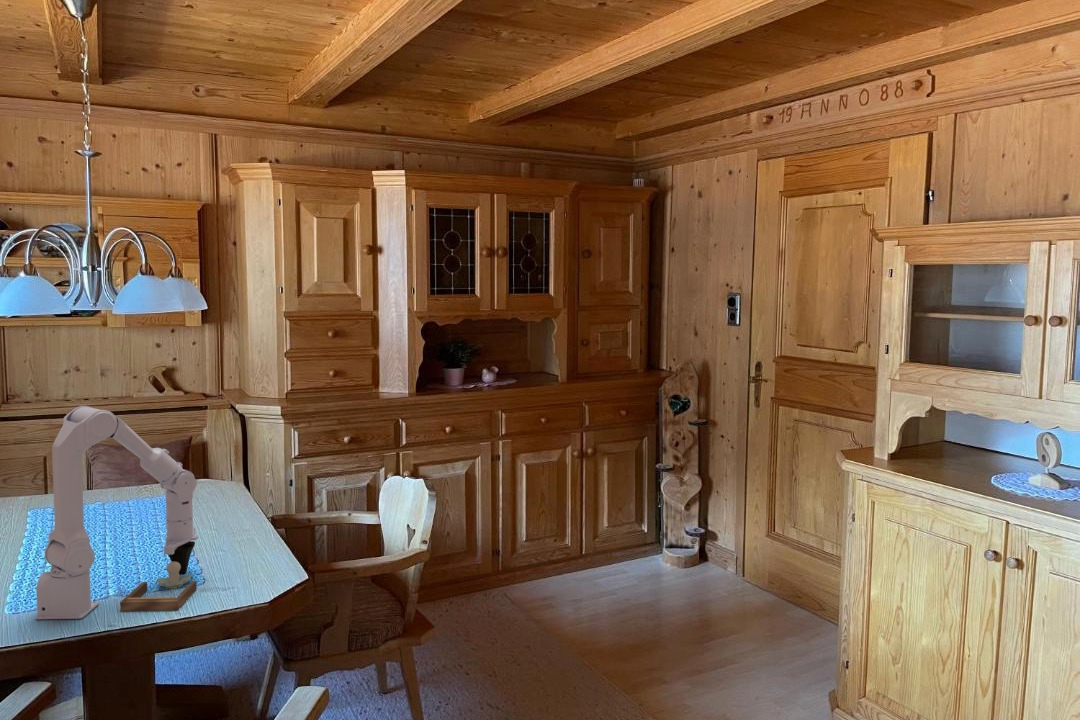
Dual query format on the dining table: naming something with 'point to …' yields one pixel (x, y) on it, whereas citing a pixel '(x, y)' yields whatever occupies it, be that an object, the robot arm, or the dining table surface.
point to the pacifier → (173, 576)
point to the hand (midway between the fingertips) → (180, 573)
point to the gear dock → (155, 600)
